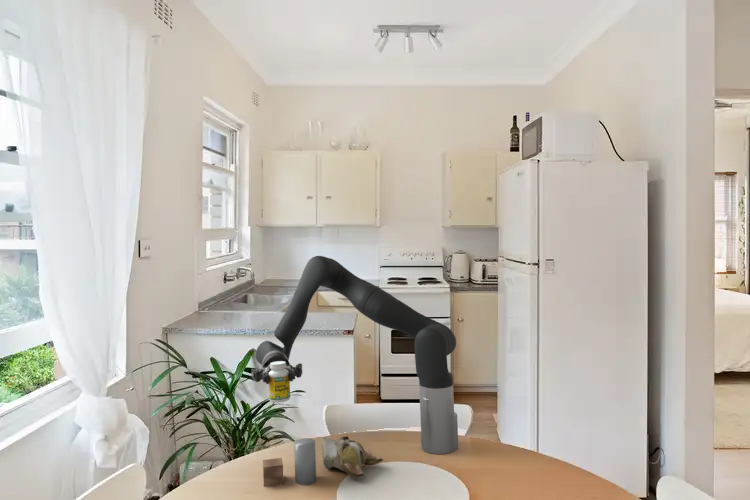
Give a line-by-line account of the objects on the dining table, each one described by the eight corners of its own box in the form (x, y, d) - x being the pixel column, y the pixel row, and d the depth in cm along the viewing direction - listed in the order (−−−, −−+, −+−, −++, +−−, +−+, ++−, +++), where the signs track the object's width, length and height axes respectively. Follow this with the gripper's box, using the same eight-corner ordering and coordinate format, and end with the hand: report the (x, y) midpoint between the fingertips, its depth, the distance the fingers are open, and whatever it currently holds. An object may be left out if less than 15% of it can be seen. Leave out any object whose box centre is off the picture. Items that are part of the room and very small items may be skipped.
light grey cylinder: (314, 474, 121) (313, 437, 121) (317, 483, 116) (316, 444, 117) (294, 477, 120) (293, 439, 120) (296, 486, 115) (295, 447, 115)
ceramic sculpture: (334, 424, 131) (384, 435, 124) (334, 456, 131) (384, 470, 124) (310, 438, 122) (363, 451, 115) (310, 473, 122) (362, 488, 115)
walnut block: (282, 476, 121) (281, 457, 121) (283, 484, 117) (282, 464, 117) (263, 478, 120) (262, 460, 120) (263, 486, 115) (263, 467, 116)
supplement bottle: (285, 395, 132) (283, 359, 132) (293, 400, 127) (292, 362, 127) (266, 399, 129) (264, 362, 129) (274, 404, 124) (272, 365, 124)
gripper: (249, 354, 140) (249, 366, 124) (300, 350, 144) (307, 361, 127) (250, 381, 140) (250, 396, 124) (301, 376, 144) (308, 390, 127)
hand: (279, 378), depth 125 cm, fingers closed on supplement bottle, 5 cm apart
